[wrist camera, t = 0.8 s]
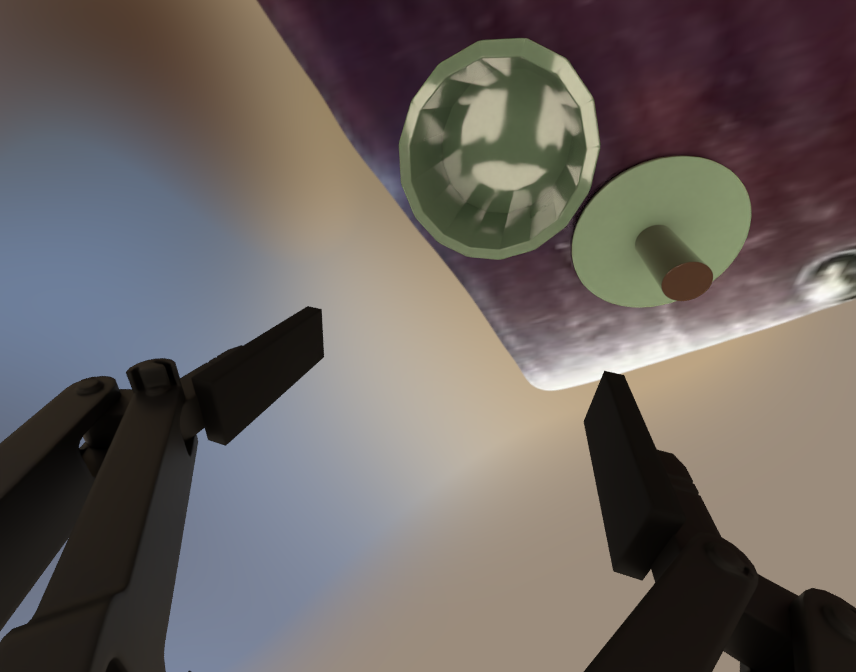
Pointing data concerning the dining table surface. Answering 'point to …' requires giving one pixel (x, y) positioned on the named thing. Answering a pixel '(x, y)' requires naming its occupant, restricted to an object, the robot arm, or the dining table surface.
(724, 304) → the dining table surface
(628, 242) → the lid
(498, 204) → the pot
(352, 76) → the dining table surface
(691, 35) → the dining table surface
